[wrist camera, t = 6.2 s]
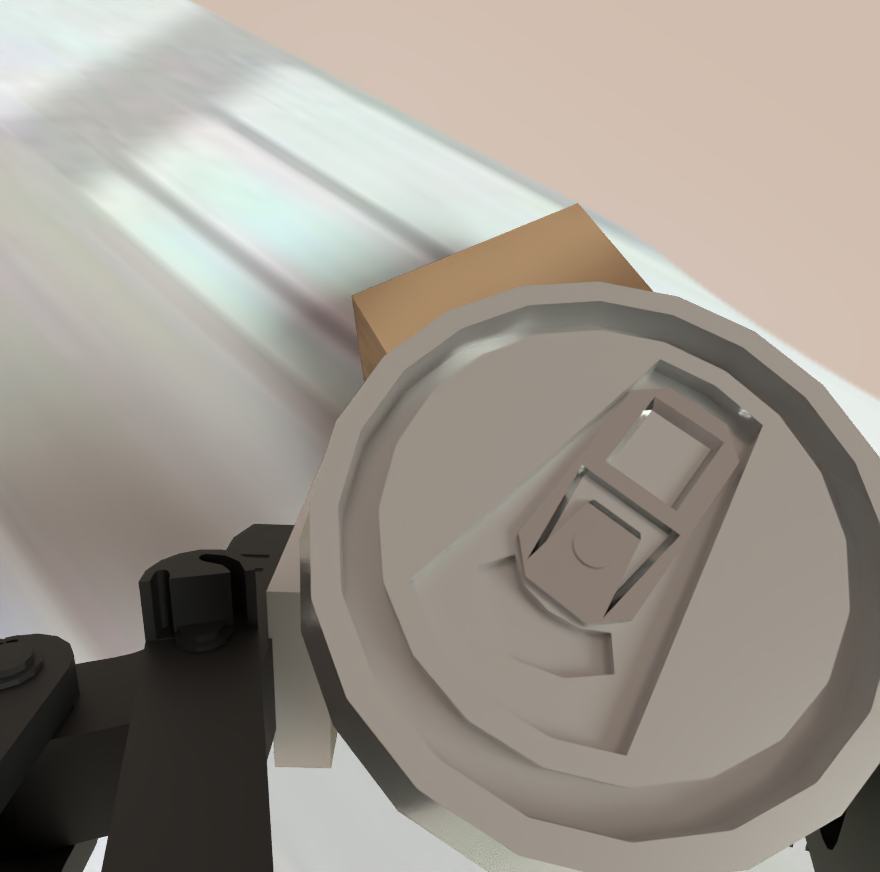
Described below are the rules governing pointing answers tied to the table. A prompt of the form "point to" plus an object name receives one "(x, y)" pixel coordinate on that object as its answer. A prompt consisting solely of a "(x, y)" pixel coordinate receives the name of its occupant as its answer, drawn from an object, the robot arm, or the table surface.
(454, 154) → the table surface
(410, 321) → the walnut block
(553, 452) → the guarana soda can
